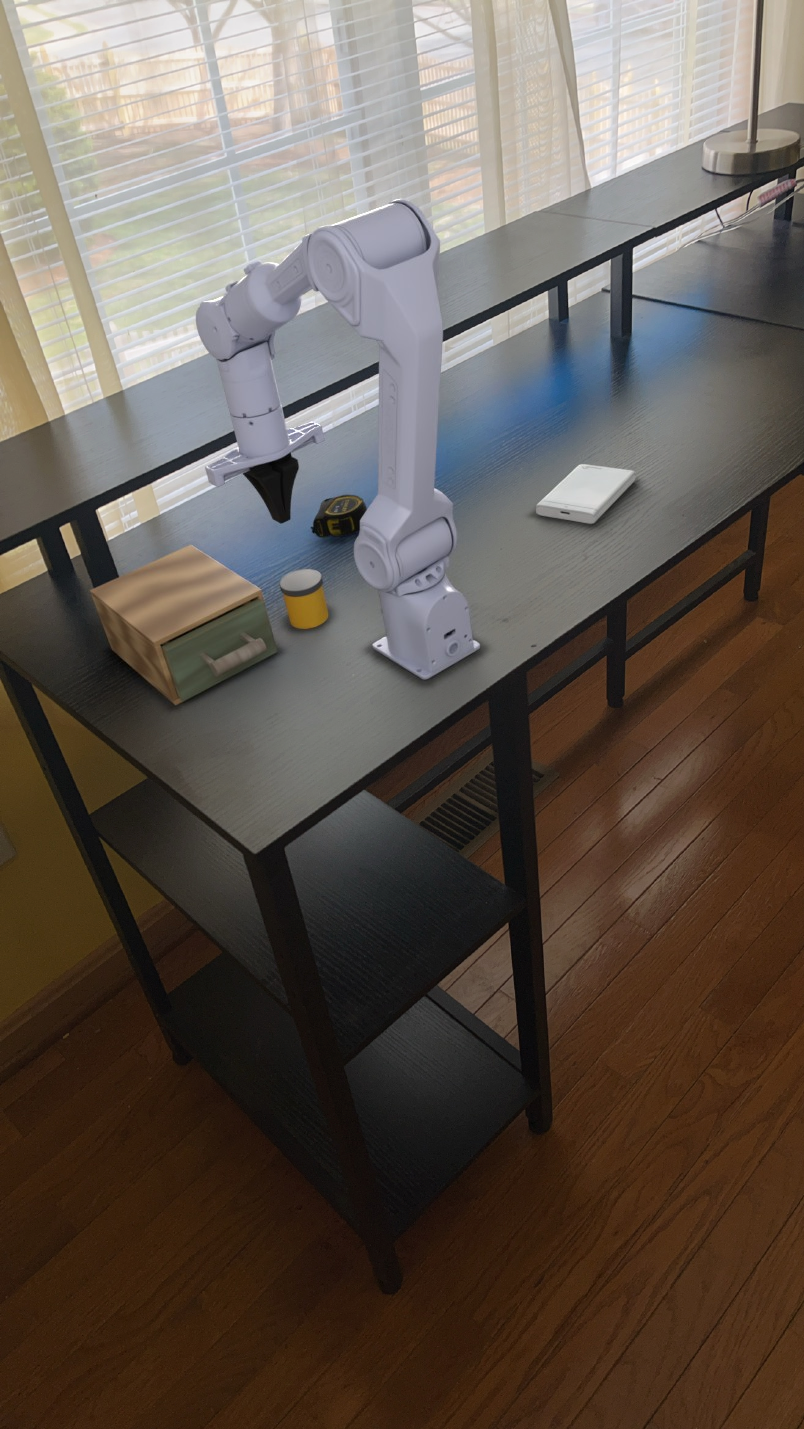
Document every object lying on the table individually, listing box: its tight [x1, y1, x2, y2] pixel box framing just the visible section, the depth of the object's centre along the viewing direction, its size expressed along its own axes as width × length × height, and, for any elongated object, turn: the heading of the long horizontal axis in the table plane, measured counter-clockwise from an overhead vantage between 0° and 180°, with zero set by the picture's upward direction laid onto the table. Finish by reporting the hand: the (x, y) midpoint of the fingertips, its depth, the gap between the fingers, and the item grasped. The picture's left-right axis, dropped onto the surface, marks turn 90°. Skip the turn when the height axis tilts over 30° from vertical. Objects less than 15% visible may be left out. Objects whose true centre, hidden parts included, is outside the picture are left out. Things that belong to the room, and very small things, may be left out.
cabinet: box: [89, 544, 278, 706], centre depth 116 cm, size 16×13×8 cm
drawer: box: [160, 599, 278, 702], centre depth 114 cm, size 20×12×7 cm, turn 39°
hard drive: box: [535, 463, 636, 525], centre depth 134 cm, size 2×8×12 cm
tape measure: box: [310, 494, 368, 538], centre depth 136 cm, size 7×7×4 cm
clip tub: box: [279, 568, 329, 630], centre depth 119 cm, size 5×5×5 cm
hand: (281, 519), depth 121 cm, fingers closed
